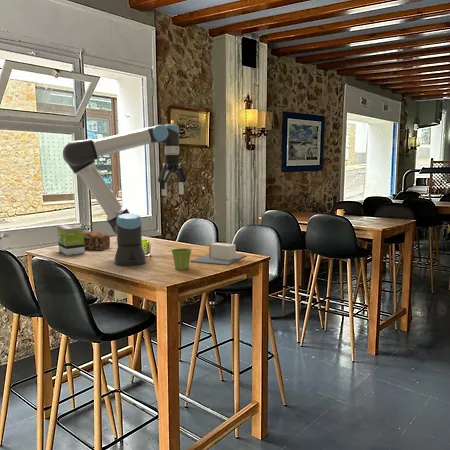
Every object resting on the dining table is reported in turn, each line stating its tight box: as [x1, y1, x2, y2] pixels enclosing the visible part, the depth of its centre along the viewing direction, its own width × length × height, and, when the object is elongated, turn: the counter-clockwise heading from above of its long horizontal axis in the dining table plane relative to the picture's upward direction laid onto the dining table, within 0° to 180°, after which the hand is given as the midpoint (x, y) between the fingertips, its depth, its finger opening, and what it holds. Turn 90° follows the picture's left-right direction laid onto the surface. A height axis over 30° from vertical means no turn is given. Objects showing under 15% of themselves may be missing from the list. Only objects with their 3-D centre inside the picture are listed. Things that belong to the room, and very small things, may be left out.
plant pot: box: [170, 248, 193, 271], centre depth 196 cm, size 9×9×9 cm
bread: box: [83, 230, 111, 251], centre depth 249 cm, size 19×11×10 cm, turn 75°
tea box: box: [56, 224, 85, 256], centre depth 236 cm, size 15×10×15 cm, turn 37°
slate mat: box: [190, 253, 246, 266], centre depth 217 cm, size 24×20×1 cm
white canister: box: [208, 242, 237, 260], centre depth 216 cm, size 6×7×12 cm
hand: (173, 195), depth 228 cm, fingers open, 13 cm apart
